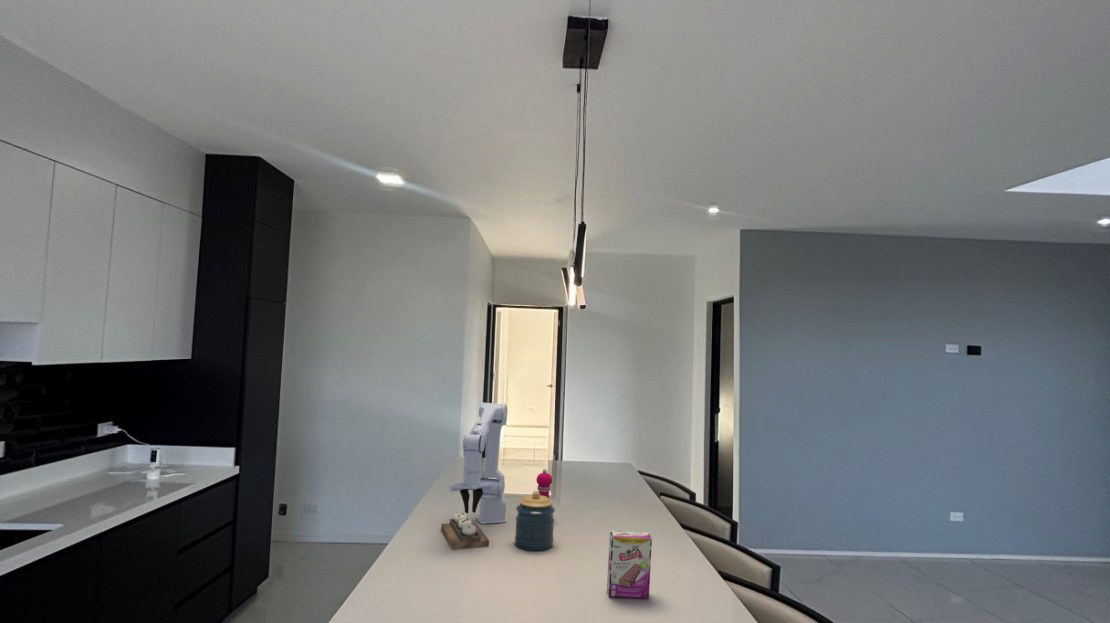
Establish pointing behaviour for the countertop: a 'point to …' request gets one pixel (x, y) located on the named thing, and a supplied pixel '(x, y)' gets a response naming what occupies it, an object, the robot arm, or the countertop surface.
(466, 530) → the button one
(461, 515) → the button two
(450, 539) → the button panel
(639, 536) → the candy bar box
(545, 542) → the canister
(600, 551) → the countertop surface
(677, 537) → the countertop surface
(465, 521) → the button three
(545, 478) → the pepper mill
